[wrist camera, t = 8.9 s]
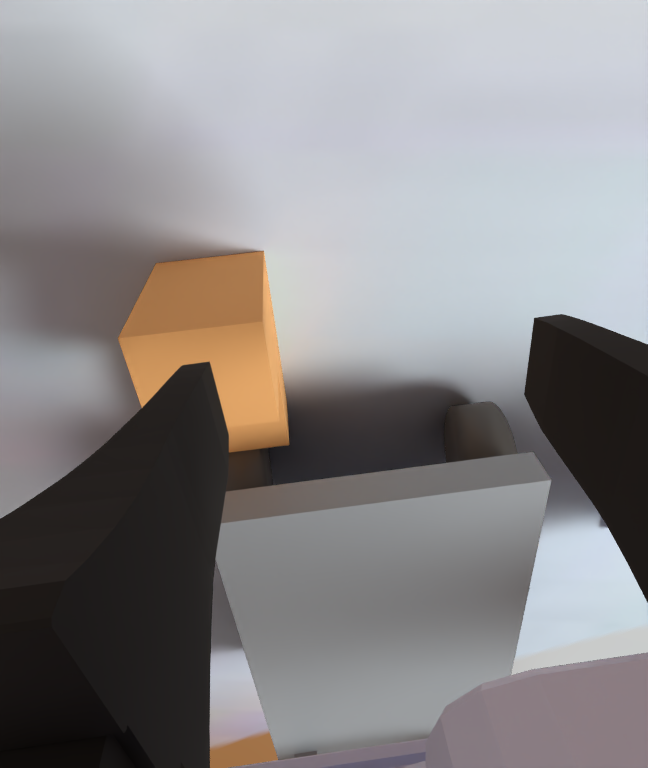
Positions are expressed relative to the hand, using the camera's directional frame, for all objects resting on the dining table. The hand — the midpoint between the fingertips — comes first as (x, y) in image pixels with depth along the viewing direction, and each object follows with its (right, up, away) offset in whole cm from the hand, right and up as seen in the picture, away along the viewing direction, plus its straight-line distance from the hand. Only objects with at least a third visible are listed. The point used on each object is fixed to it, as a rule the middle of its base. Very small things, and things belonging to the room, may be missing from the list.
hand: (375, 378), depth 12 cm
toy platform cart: (+1, -9, +17) cm, 19 cm away
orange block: (-5, +2, +10) cm, 11 cm away
